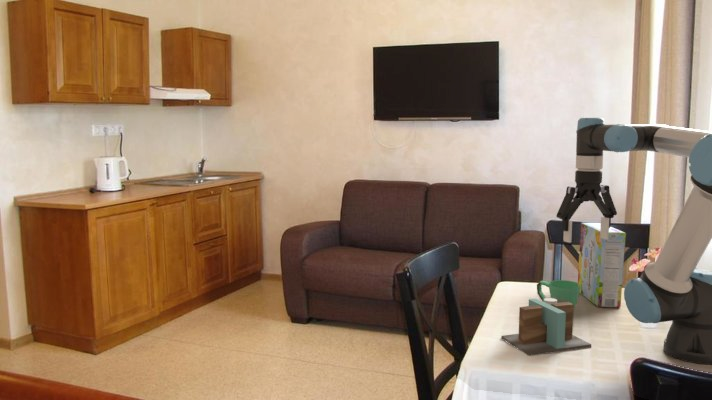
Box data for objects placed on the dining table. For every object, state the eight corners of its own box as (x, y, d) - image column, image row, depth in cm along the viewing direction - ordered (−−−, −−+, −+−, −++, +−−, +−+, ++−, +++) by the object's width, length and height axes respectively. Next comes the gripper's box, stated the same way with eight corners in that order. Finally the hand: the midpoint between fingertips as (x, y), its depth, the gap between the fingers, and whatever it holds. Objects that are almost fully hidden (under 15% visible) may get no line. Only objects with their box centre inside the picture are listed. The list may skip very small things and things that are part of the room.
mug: (585, 314, 207) (586, 284, 205) (570, 320, 200) (571, 289, 199) (544, 304, 217) (545, 276, 216) (528, 310, 211) (529, 281, 209)
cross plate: (564, 347, 175) (565, 312, 173) (556, 348, 174) (558, 313, 173) (535, 331, 188) (536, 298, 187) (527, 332, 187) (528, 299, 186)
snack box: (623, 308, 213) (627, 232, 210) (597, 308, 213) (600, 232, 210) (599, 290, 235) (602, 221, 231) (575, 290, 235) (578, 221, 231)
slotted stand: (591, 347, 177) (593, 309, 176) (528, 355, 171) (530, 316, 170) (560, 331, 190) (561, 295, 189) (501, 338, 184) (502, 302, 183)
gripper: (613, 167, 197) (610, 235, 200) (545, 170, 189) (543, 240, 192) (631, 169, 190) (628, 239, 193) (562, 172, 182) (559, 245, 185)
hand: (585, 240), depth 192 cm, fingers open, 13 cm apart
